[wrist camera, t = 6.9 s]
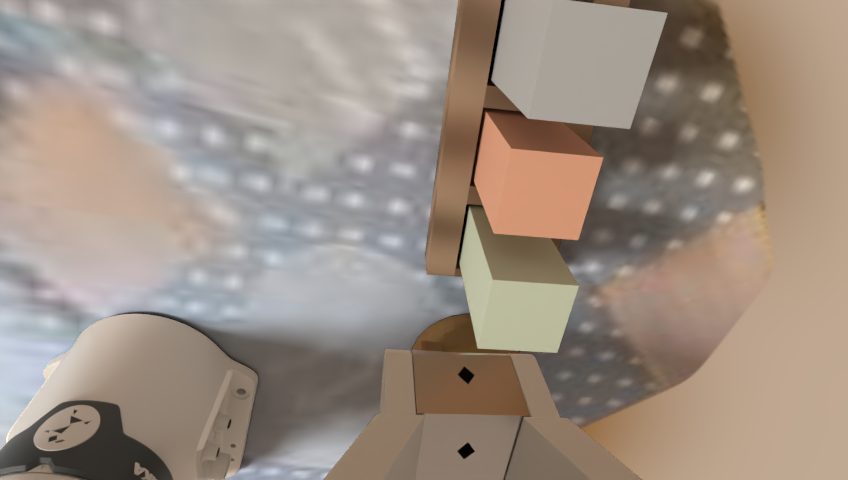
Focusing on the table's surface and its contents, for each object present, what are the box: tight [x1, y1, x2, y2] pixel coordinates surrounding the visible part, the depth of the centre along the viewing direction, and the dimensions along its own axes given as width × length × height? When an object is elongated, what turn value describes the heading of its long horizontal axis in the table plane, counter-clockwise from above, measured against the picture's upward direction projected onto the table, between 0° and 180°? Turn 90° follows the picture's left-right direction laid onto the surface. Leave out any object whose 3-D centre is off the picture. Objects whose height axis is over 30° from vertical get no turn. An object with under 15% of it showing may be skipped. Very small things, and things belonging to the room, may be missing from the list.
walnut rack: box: [425, 0, 630, 277], centre depth 34 cm, size 21×10×3 cm, turn 174°
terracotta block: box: [472, 107, 604, 240], centre depth 30 cm, size 5×5×10 cm
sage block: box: [459, 205, 579, 353], centre depth 32 cm, size 5×5×10 cm
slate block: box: [491, 0, 668, 129], centre depth 25 cm, size 5×5×10 cm
